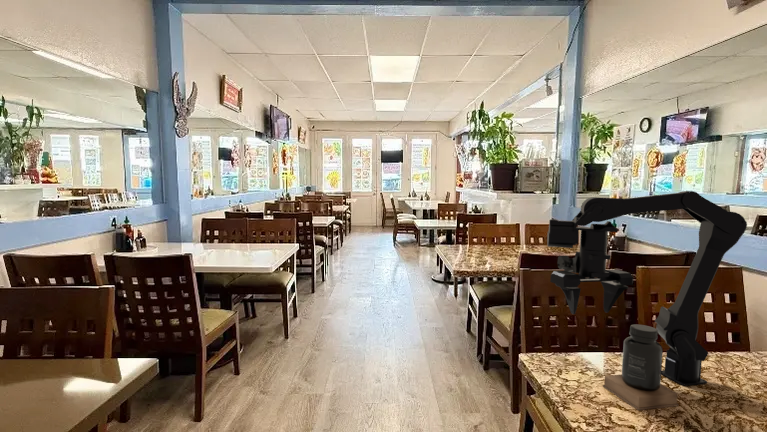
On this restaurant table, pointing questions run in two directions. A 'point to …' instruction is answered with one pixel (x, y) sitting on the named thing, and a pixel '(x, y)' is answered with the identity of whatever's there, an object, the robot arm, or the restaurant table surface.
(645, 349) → the supplement bottle
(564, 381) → the restaurant table surface
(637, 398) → the walnut base
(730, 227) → the robot arm
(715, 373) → the restaurant table surface
